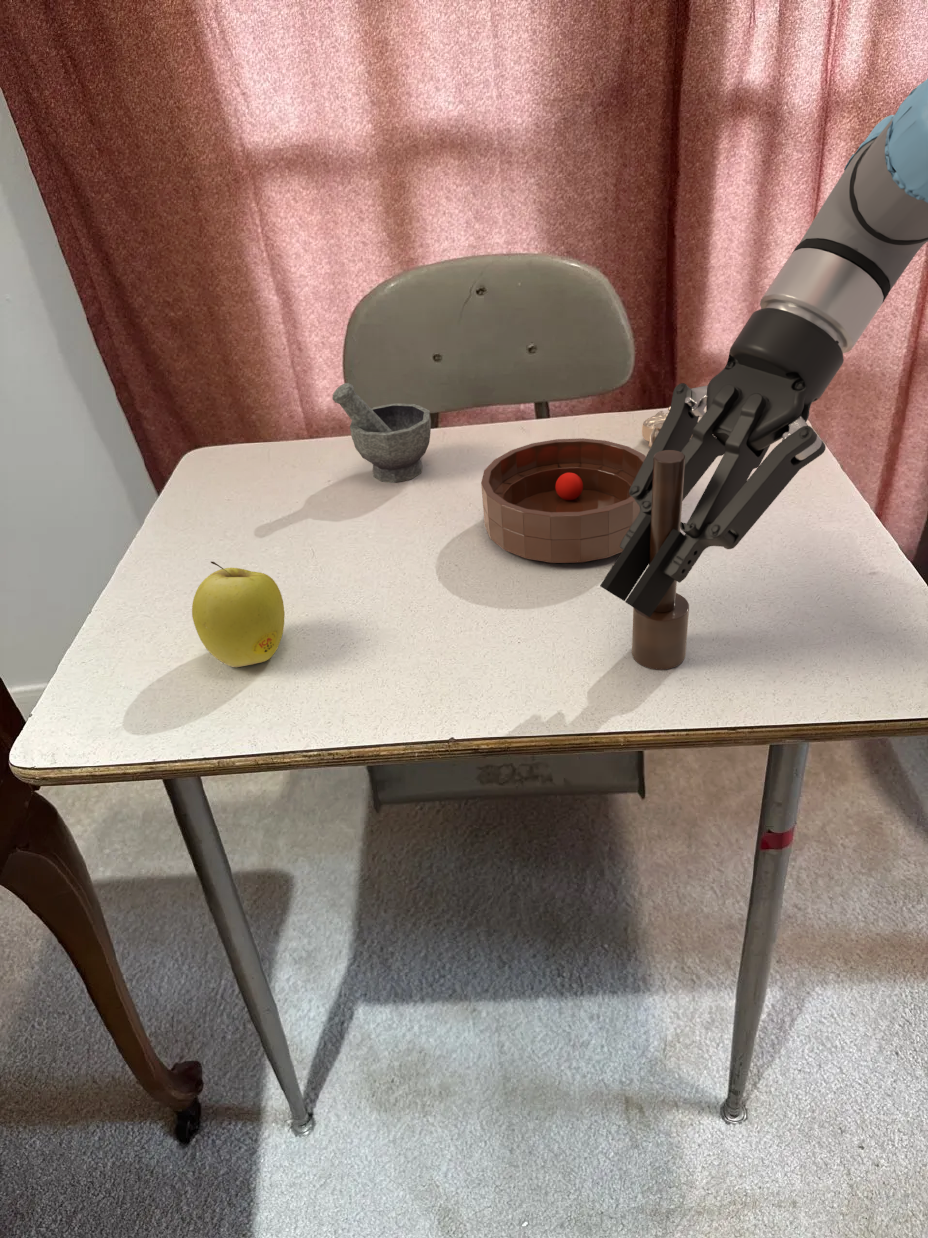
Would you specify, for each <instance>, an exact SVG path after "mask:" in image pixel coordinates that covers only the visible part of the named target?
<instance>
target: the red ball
mask: <svg viewBox="0 0 928 1238" xmlns="http://www.w3.org/2000/svg"><path fill="white" fill-rule="evenodd" d="M555 488H556V492H557V494H558V495H559V496H560V497H561V498H562V499H564V500H574V499H576V498H577V497H578V496H579V495H580V494H581V493H582V490H583V482H582V480H581V478H580V477H579V476H578V475H577V474H575V473H564V474H562V475H561V476H560V477H559V478H558V479H557V481H556V485H555Z"/></svg>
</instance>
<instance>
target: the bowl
mask: <svg viewBox="0 0 928 1238" xmlns="http://www.w3.org/2000/svg"><path fill="white" fill-rule="evenodd" d="M646 456H647V455H645V454H644V453H642V452H640V451H638V450H636V449H634V448H633V447H630V446H628V445H625V444H620V443H616V442H613V441H610V440H605V439H603V440H602V439H595V438H583V437H580V438H558V439H557V438H556V439H550V440H544V441H537V442H532V443H529V444H525V445H523V446H519V447H517V448H513V449H511V450H509V451H507V452H505V453H504V454H502V455H500V456H498V457H496V458H495V459H493V460H492V461H491V462H490V463H489V464H488V466H487V467H486V468H485V469H484V470H483V473H482V477H481V482H480V486H481V487H480V488H481V496H482V499H481V500H482V506H483V507H482V508H483V509H482V510H483V520H484V521H483V522H484V528H485V530H486V532H487V534H488V536H489V539H490V540H491V541H492V542H493V543H495V544H496V545H497V546H498V547H500V548H501V549H502V550H504V551H506V552H508V553H511V554H514V555H515V556H518V557H521V558H523V559H526V560H531V561H538V562H546V563H550V564H575V563H576V564H577V563H586V562H590V561H591V562H592V561H598V560H602V559H608V558H611V557H613V556H615V555H618V554H621V552H622V551H623V549H622V548H620V544H621V541H622V539H623V538H624V536H625V535H626V533H627V532H628V531H629V528H630V527H631V525H632V524H633V522H634V521H635V519H636V518H637V516H638V514H639V512H640V507H639V505H638V504H637V502H636V501H635V499H634V498H633V497H631V496H630V494H629V490H630V487H631V485H632V483H633V481H634V479H635V477H636V475H637V474H638V472H639V470H640V468H641V466H642V464H643V462H644V460H645V458H646ZM564 473H575V474H577V475H578V476H579V477H580V478H581V480H582V482H583V490H582V493H581V494H580V495H579V496H578V497H577V498H576V499H574V500H564V499H562V498H561V497H560V496H559V495H558V494H557V492H556V488H555V485H556V481H557V479H558V478H559V477H560V476H561V475H562V474H564Z"/></svg>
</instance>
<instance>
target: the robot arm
mask: <svg viewBox="0 0 928 1238" xmlns="http://www.w3.org/2000/svg"><path fill="white" fill-rule="evenodd" d="M926 243H928V78H927V79H925V80H924V81H922V82H921V83H920V84H917V86H916V87H915V88H913V89H912V90H911V91H910V93H908V95H907V97H905V99H904V100H903V101H902V102H901V103H900V105H899V107H898V109H897V111H896V112H895V114H889V115H888V116H885V117H884V118H883V119H881V120H880V121H879V122H878V123H876V125H875V126H874V127H873V128H872V130H871V132H870V133H868V135H867V137H866V139H865V140H864V141H863V142H862V143H860V145H859V147H858V148H857V150H856V151H855V153H852V155H851V156H850V158H849V159H848V161H847V163H846V164H845V166H844V168H843V173H842V174H841V176H840V177H839V179H838V181H837V182H836V184H835V185H834V187H833V188H832V189H831V192H830V193H829V194H828V196H827V197H826V200H824V202H823V204H822V206H821V208H820V209H819V210H818V212H817V214H816V216H815V217H814V219H813V220H812V222H811V224H810V225H809V227H808V228H807V230H806V232H805V234H804V235H803V237H802V239H801V240H800V242H799V243H798V244H797V245H796V246H795V248H794V249H793V251H792V252H791V253H790V255H789V256H788V258H787V259H786V261H785V263H784V264H783V266H782V267H781V269H780V270H779V271H778V273H777V275H776V276H775V278H774V279H773V281H772V282H771V284H770V285H769V287H768V288H767V290H766V291H765V293H764V294H763V296H762V297H761V299H760V301H759V306H760V309H758V310H755V311H753V312H752V313H751V315H750V316H749V318H748V319H747V321H746V322H745V324H744V326H743V328H742V329H741V331H740V332H739V333H738V335H737V337H736V338H735V340H734V342H733V343H732V345H731V346H730V348H729V351H728V358H727V362H726V365H725V367H723V368H722V370H721V371H720V372H718V373H717V374H716V375H714V376H713V377H712V378H711V379H710V380H709V382H708V383H707V385H701V386H698V387H692V388H691V387H690V386H688V385H687V383H685V382H681V383H679V384H677V385H676V386H675V387H674V389H673V392H672V397H671V403H670V406H671V407H670V406H669V407H670V411H669V410H668V412H667V413H668V415H667V417H666V419H665V421H664V423H663V425H662V427H661V429H660V431H659V433H658V435H657V437H656V438H655V440H654V442H653V444H652V446H651V447H649V450H648V452H647V454H646V455H645V456H646V458H645V460H644V462H643V464H642V466H641V468H640V470H639V472H638V474H637V475H636V477H635V479H634V481H633V483H632V485H631V487H630V490H629V494H630V496H631V497H633V498H634V499H635V501H636V502H637V504H638V505H639V507H640V512H639V514H638V516H637V518H636V519H635V521H634V522H633V524H632V525H631V527H630V528H629V531H628V532H627V533H626V535H625V536H624V538H623V539H622V541H621V544H620V548H622V549H623V551H622V552H621V553H619V556H618V557H617V559H616V560H615V561H614V564H613V565H612V566H611V568H610V570H609V571H608V573H607V574H606V575H605V577H604V579H602V582H601V583H600V585H599V587H601V588H602V589H604V590H605V591H607V592H609V594H612V595H614V596H615V597H617V598H618V599H620V600H621V601H623V602H624V603H625V604H627V605H628V606H630V607H632V608H633V607H634V608H635V609H637V610H638V611H640V612H642V613H643V614H645V615H647V616H648V617H651V615H652V613H653V612H654V610H655V609H656V607H657V606H658V604H659V603H660V601H661V600H662V598H663V597H664V595H665V594H666V592H667V591H668V589H669V588H670V586H671V585H672V583H673V582H674V580H676V581H677V583H679V584H680V583H681V582H682V581H684V580H685V579H686V578H687V577H688V575H689V573H690V572H691V570H692V569H693V567H694V566H695V565H696V563H697V561H698V560H699V559H700V557H701V555H702V554H703V552H704V551H705V550H707V549H708V548H710V547H721V548H724V549H725V550H733V549H734V548H735V547H736V546H738V544H739V543H740V542H741V541H742V539H743V538H744V537H745V536H746V534H748V532H749V531H750V530H751V529H752V527H754V526H755V524H756V523H757V522H758V520H759V519H760V518H761V517H762V516H763V514H764V513H765V512H766V511H767V510H768V509H769V507H770V506H771V505H772V504H773V502H774V501H775V500H776V499H777V498H778V496H780V494H781V493H782V492H783V490H784V489H785V488H786V487H787V486H788V484H790V482H791V481H792V480H793V479H794V477H795V476H796V475H797V474H798V473H799V471H800V470H802V469H803V468H805V467H806V466H807V465H809V464H810V463H812V462H813V461H815V460H817V458H819V457H821V455H823V454H824V453H825V451H826V449H827V446H826V444H825V442H824V441H823V440H822V438H820V436H819V435H818V433H817V432H816V430H815V429H813V427H812V426H810V425H809V424H808V423H807V422H808V419H809V417H810V412H811V411H810V410H811V406H812V404H813V403H815V402H817V401H818V400H819V399H820V398H822V395H823V394H824V393H825V391H826V390H827V388H828V387H829V385H830V384H831V382H832V380H833V379H834V378H835V376H836V375H837V373H838V372H839V370H840V368H841V367H842V365H843V364H844V354H847V353H849V352H850V351H852V350H853V349H854V347H855V346H856V344H857V342H858V341H859V339H860V338H861V336H862V335H863V334H864V332H865V330H866V329H867V327H868V325H869V324H870V323H871V321H872V320H873V318H874V317H875V315H876V314H877V313H878V311H879V309H880V307H881V306H882V305H883V304H884V302H885V301H886V299H887V297H888V295H889V293H891V290H892V289H893V287H894V286H895V285H896V283H897V282H898V280H899V279H900V277H901V276H902V275H903V273H904V272H905V270H906V269H907V268H908V266H909V265H910V263H911V262H912V260H913V259H914V257H915V256H916V255H917V253H918V252H919V251H920V249H922V247H923V246H924V245H925V244H926ZM705 408H706V409H705ZM699 418H700V419H699ZM692 434H693V436H692ZM691 436H692V438H691ZM781 439H782V440H781ZM780 440H781V441H780ZM778 441H780V442H778ZM776 442H778V444H777V445H776V446H775V447H773V449H772V450H771V451H770V452H769V453H768V450H769V448H770V447H771V445H773V444H775V443H776ZM664 450H675V451H679V452H682V453H683V454H684V455H685V468H684V483H683V498H682V502H684V500H685V499H686V498H687V496H688V495H689V494H690V492H691V491H692V490H693V488H694V487H695V486H696V485H697V484H698V483H699V481H700V480H701V478H703V476H704V475H705V473H706V472H707V471H708V469H709V468H710V467H711V465H712V464H713V463H714V462H715V460H716V459H717V458H718V457H721V459H720V461H719V462H718V465H717V466H716V468H715V470H714V472H713V474H712V475H711V478H710V479H709V481H708V484H707V485H706V487H705V489H704V491H703V492H702V495H701V496H700V498H699V500H698V501H697V504H696V506H695V507H694V510H692V511H693V512H692V513H691V515H690V517H689V519H688V521H686V523H685V522H683V521H681V523H680V532H679V531H677V530H675V529H674V528H673V529H672V531H671V532H670V534H669V535H668V537H667V539H666V540H665V542H664V543H663V545H662V546H661V548H660V549H659V551H658V552H657V554H656V555H655V557H654V558H653V560H652V561H651V563H650V564H649V552H650V530H651V507H652V485H653V462H654V455H655V454H656V453H657V452H660V451H664ZM767 453H768V454H767ZM765 456H766V457H765ZM752 472H753V473H752ZM681 531H682V532H681Z"/></svg>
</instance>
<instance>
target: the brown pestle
mask: <svg viewBox="0 0 928 1238" xmlns="http://www.w3.org/2000/svg"><path fill="white" fill-rule="evenodd" d="M684 468H685V455H684V454H683V453H682V452H679V451H675V450H664V451H660V452H657V453H656V454H655V455H654V462H653V485H652V507H651V530H650V552H649V564H650V563H651V561H652V560H653V558H654V557H655V555H656V554H657V552H658V551H659V549H660V548H661V546H662V545H663V543H664V542H665V540H666V539H667V537H668V535H669V534H670V532H671V531H672V529H673V528H674V529H675V530H677V531H679V532H681V528H680V523H681V522H682V510H683V501H682V498H683V483H684ZM677 584H678V582H677V581H676V580H674V582H673V583H672V585H671V586H670V588H669V589H668V591H667V592H666V594H665V595H664V597H663V598H662V600H661V601H660V603H659V604H658V606H657V607H656V609H655V610H654V612H653V613H652V615H651V617H648V616H647V615H645V614H643V613H642V612H640V611H638V610H637V609H635V608H634V607H632V629H631V630H632V631H631V632H632V635H631V656H632V658H633V660H634V661H635V662H636V663H637V664H639V665H640V666H642V667H644V668H646V669H650V670H656V671H657V670H658V671H663V670H670V669H673V668H676V667H678V666H680V664H681V665H682V663H683V662H684V660H685V658H686V654H687V640H688V630H689V629H688V627H689V618H690V617H689V615H690V603H689V601H688V600H687V599H686V597H684V596H683V595H682V594H680V593H677Z"/></svg>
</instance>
